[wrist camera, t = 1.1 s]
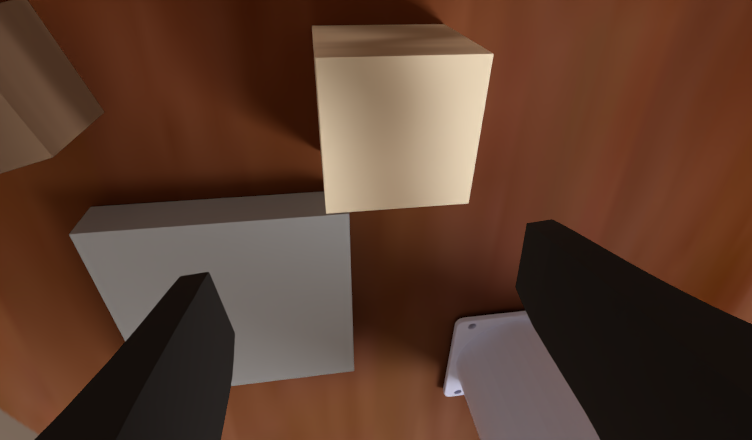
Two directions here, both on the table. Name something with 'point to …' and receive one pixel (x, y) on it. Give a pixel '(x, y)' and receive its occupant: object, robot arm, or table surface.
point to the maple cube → (398, 114)
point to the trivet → (235, 274)
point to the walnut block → (37, 91)
